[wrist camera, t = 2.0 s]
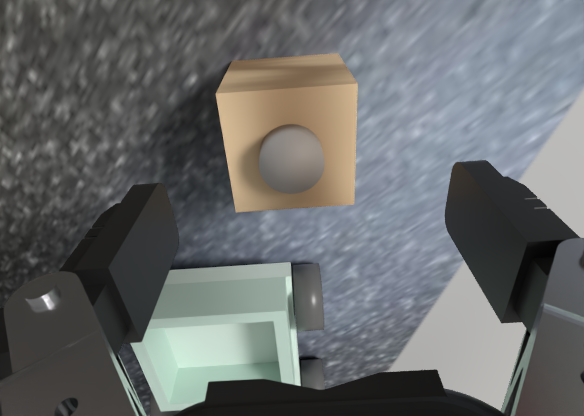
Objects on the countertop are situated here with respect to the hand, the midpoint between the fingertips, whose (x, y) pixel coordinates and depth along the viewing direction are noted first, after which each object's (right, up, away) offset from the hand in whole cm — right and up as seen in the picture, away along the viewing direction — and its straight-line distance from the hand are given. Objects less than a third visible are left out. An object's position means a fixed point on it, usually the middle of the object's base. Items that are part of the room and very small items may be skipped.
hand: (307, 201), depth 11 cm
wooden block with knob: (-1, +5, +9) cm, 10 cm away
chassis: (-5, -9, +17) cm, 20 cm away
